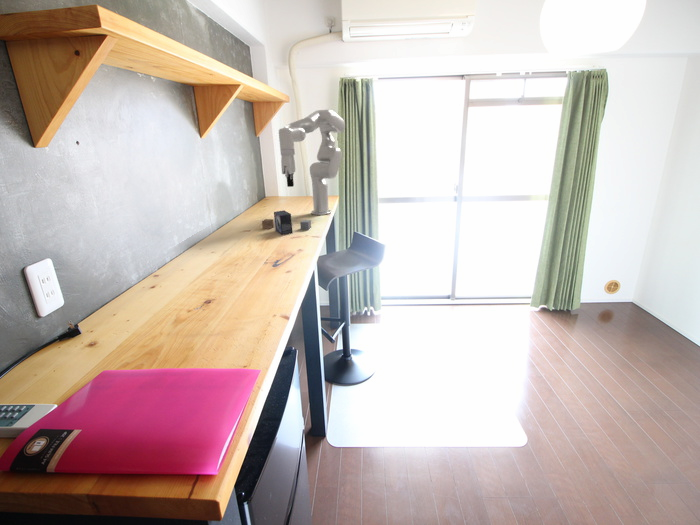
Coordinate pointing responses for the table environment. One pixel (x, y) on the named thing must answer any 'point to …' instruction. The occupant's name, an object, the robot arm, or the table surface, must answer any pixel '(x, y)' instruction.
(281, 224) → the small box
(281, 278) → the table surface
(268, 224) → the walnut block
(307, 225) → the charcoal block
